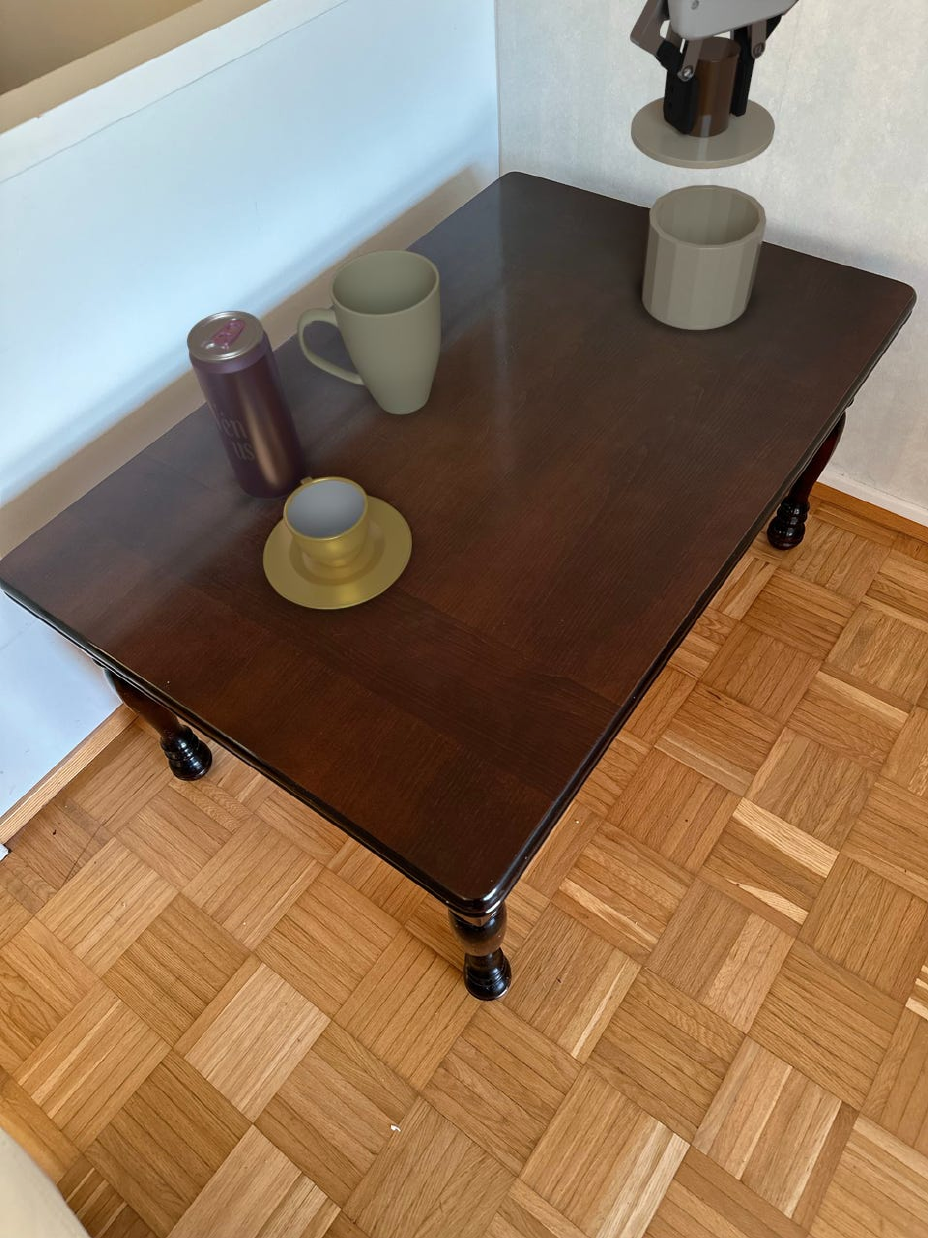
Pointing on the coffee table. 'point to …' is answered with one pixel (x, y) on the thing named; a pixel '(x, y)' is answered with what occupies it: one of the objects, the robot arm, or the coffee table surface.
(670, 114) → the robot arm
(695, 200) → the pot
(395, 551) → the cup
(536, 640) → the coffee table surface
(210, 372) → the beverage can
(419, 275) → the mug
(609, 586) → the coffee table surface
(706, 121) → the lid
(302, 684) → the coffee table surface
